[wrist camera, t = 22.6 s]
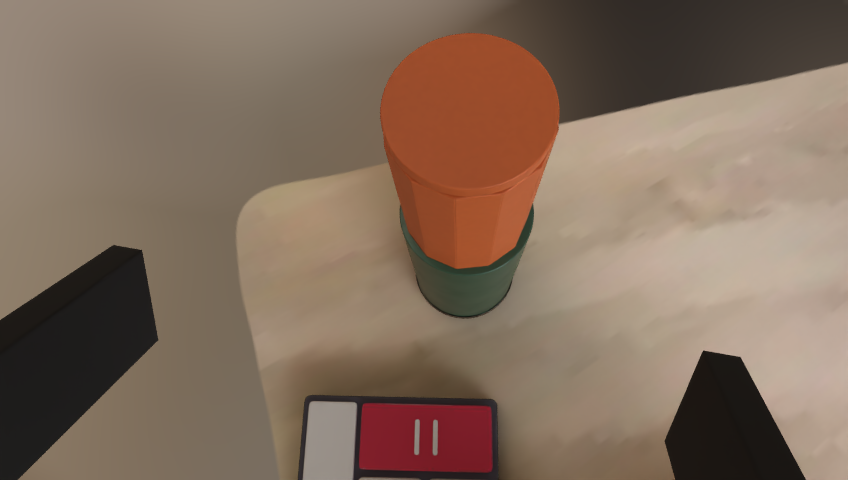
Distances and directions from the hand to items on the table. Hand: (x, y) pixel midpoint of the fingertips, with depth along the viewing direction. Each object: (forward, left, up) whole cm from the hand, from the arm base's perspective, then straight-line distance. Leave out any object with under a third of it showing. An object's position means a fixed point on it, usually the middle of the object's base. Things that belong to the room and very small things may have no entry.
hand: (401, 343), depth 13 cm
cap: (+3, -10, -19) cm, 21 cm away
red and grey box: (+1, +7, -34) cm, 35 cm away
